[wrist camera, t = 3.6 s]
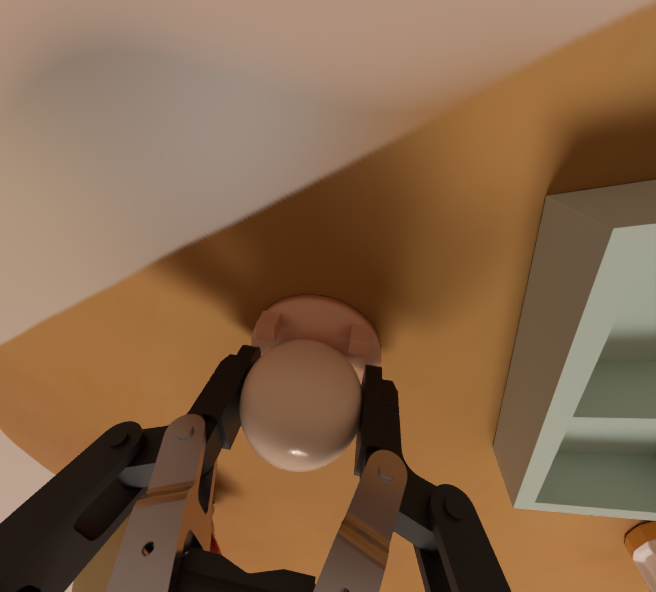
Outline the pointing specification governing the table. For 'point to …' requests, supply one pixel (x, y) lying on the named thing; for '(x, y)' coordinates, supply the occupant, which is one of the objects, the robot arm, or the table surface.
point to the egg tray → (586, 360)
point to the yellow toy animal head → (113, 561)
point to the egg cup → (320, 328)
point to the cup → (644, 551)
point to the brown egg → (301, 405)
